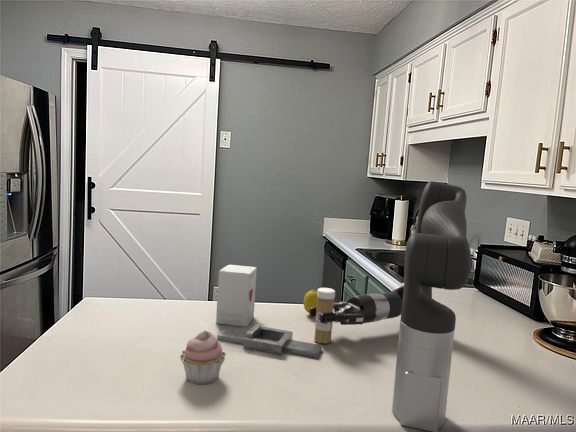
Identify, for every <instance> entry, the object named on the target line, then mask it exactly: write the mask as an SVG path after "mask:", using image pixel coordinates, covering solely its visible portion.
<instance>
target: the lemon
mask: <svg viewBox="0 0 576 432" xmlns="http://www.w3.org/2000/svg"><path fill="white" fill-rule="evenodd" d="M317 299H318V298H317V291H316V289H312V290H309V291H308V292H306V293H305V295H304V298H303V308H304V310H305V311H306V313H308V314H309V312H310V308H311V307H317Z"/></svg>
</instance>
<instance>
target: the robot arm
mask: <svg viewBox="0 0 576 432" xmlns="http://www.w3.org/2000/svg"><path fill="white" fill-rule="evenodd" d="M466 204H467V193H466V190H465V188H463V187H460V186H457V185H453V184H448V183H442V182H440V181H432V180H431V181H428V182H427V183H426V185H425V186H424V189H423V191H422V195H421V198H420V203H419V207H418V213H417V219H416V220H417V221H416V224H415V225H416V226H415V232H414V233H413V234H411V235H409V238H408V240H407V243H406V246H405V254H404V268H403V269H404V270H403V271H404V272H403V273H404V274H403V286H400V287H398V288H395V289H393V290H392V291H390V292H383V293H368V294H367V293H366V294H357V295H352V296H351V297H349V299H348V300H347V301H339V302H336V299H334V306H333V312H331V313H323V314H321V315H320V322H321V323H327V322H332V323H333V322H334V323H335V324H337V323H338V324H340V325H341V326H343V325H344V326H346V325H348V326H351V325H352V326H353V325H354V326H355V325H363V324H368V323H375V322H376V323H377V322H379V321H382V320H388V319H389V320H390V319H395V318H398V317H400V323H399V331H398V343H397V350H396V351H397V352H396V363H395V374H394V382H393V384H394V385H393V395H392V397H393V398H392V406H391V407H392V408H391V411H392V414H393V415H394V417H396V419H397V420H399V425H401V426H406V427H408V428H409V427H410V428H415V429H420V430H424V431H427V432H438V431H439V429H440V428H442V427H443V426H444V425H445V421H446V414H447V413H446V411H447V406H448V395H449V394H448V393H449V383H450V376H451V367H452V366H451V365H452V356H453V347H454V341H455V340H454V339H455V330H456V321H457V319H456V318H457V317H456V313H455V312H454V311H453V309H451V308H450V307H448V306H447V305H445V304H443V303H441V302H440V301H437V300H436V299H434V298H433V288H434V289H441V290H442V289H443V290H448V291H454V290H460V289H462V288H464V287H465V286H466V284H467V283H468V281H469V279H470V277H471V272H472V251H471V247H470V243H469V241H468V237H467V232H468V231H467V228H468V226H467V218H466V214H465V213H466V207H467V205H466ZM316 310H317V307H311V308H310V312H309V313H308V315H309V316H310V317H316Z"/></svg>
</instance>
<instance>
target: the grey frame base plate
mask: <svg viewBox="0 0 576 432" xmlns="http://www.w3.org/2000/svg"><path fill="white" fill-rule="evenodd" d="M293 333H294V331H291V330H285V329H280V328H279V329H278V328H272V327H267V326H263V325H262V324H261V323H260V324H259V323H255V324H254V325H253V326H252V327H251V328H250V329H248V331H243V330H238V329H233V328H228V327H226V328H225V327H224V329H222V330H221V331H220V332H219V333H218V334H216V335H217V336H216V339H217V340H218V341H223V342H229V343H235V344H240V345H243V346H242V347H243V349H244V350H248V349H249V351H253V350H254V352H258V351H259V353H264V354H270V355H274V356H281V357H282V356H283V354H284V353H288V354H293V355H298V356H304V357H309V358H314V359H317V358H318V357H319V356H320V355H319V354H320V353H321V351H322V344H319V343H317V344H316V343H313V342H307V341H306V342H305V341H301V340H295V339H293ZM261 338H262V339H261ZM267 339H268V340H267Z"/></svg>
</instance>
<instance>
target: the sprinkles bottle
mask: <svg viewBox="0 0 576 432" xmlns="http://www.w3.org/2000/svg"><path fill="white" fill-rule="evenodd" d="M335 297H336V290H335V289H333V288H329V287H319V288H317V298H318V299H317V310H316V316H315V321H314V322H315V323H314V336H313V339H314V342H317V343H318V344H329V343H331V342H332V334H333V333H332V330H333V322H327V323H321V322H320V315H321V314H323V313H331V312H333V313H334V310H333V306H334V300H335Z"/></svg>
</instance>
